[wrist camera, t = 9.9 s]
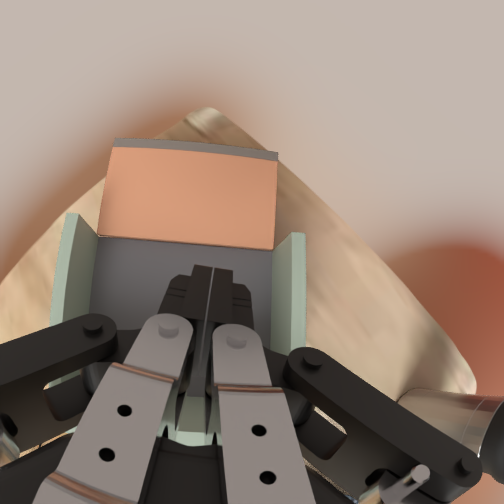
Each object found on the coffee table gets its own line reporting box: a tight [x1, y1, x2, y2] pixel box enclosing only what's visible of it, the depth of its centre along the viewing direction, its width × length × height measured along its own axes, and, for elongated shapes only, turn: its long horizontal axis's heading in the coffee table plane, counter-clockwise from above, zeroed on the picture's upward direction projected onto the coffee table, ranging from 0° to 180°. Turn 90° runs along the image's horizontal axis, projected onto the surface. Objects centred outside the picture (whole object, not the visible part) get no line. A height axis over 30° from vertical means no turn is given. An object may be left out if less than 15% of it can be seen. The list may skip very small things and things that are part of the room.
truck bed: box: [49, 213, 306, 446], centre depth 24 cm, size 16×20×16 cm
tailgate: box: [97, 138, 278, 250], centre depth 27 cm, size 1×17×10 cm
